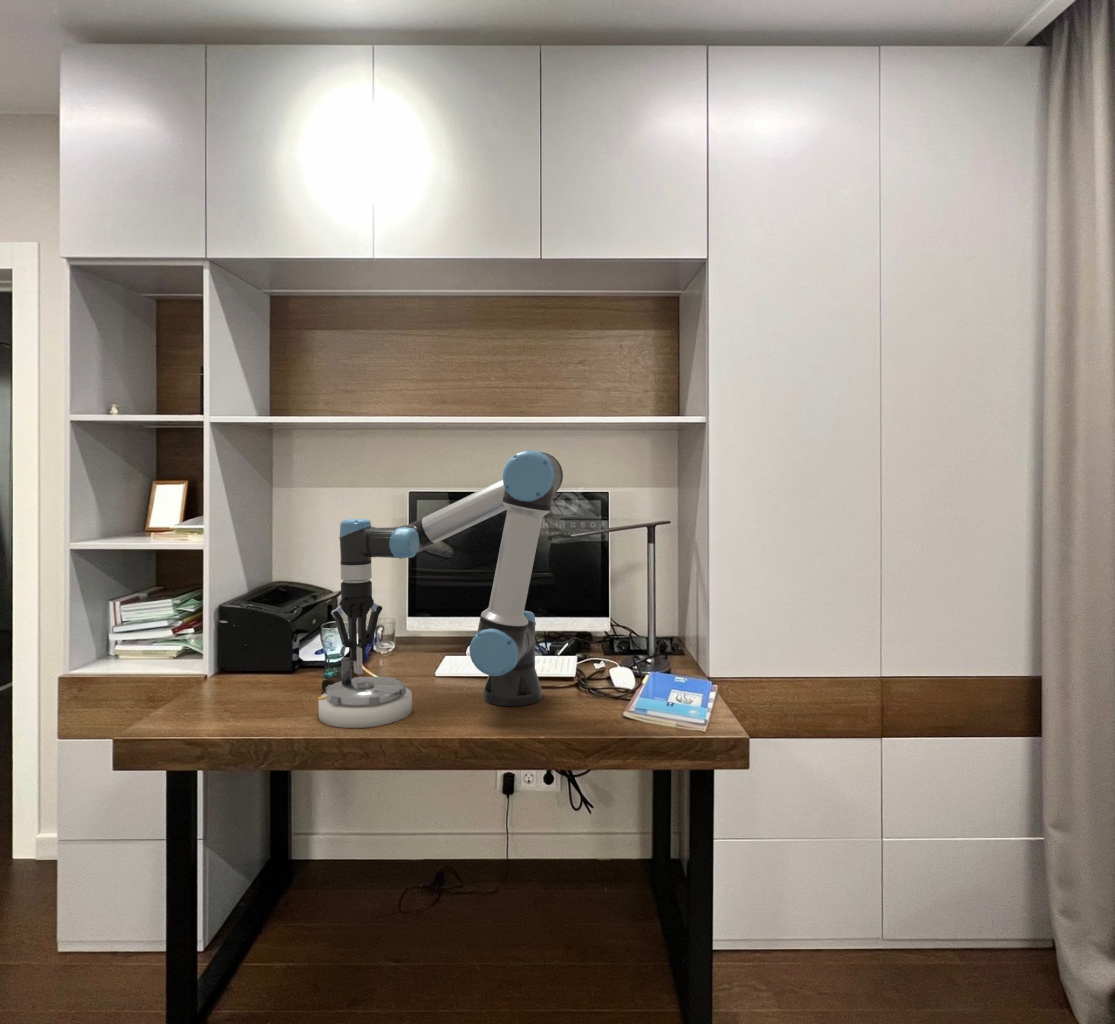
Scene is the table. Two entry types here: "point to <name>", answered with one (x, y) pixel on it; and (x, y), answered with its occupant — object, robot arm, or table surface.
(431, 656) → the table surface
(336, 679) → the hand tool
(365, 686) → the grey disc with handle
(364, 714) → the housing
